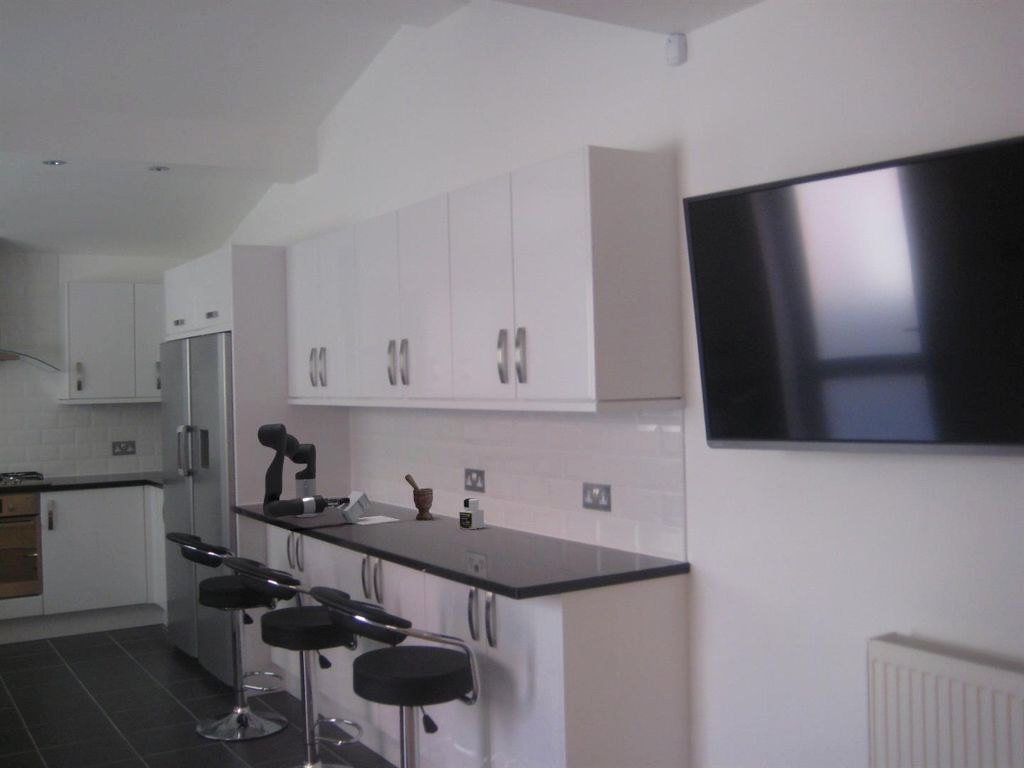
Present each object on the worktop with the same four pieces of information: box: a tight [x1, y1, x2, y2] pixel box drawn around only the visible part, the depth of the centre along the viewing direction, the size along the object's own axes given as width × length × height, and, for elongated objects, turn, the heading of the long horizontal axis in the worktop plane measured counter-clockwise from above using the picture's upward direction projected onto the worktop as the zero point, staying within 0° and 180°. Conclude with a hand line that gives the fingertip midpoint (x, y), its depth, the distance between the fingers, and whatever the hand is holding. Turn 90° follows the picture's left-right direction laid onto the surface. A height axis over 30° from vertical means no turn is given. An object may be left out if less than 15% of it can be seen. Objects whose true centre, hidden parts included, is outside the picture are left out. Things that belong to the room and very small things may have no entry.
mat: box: [352, 515, 402, 527], centre depth 456 cm, size 20×18×1 cm
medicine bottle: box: [458, 497, 485, 530], centre depth 426 cm, size 7×7×12 cm
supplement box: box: [335, 490, 372, 524], centre depth 454 cm, size 7×7×13 cm
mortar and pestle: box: [404, 473, 434, 521], centre depth 457 cm, size 12×9×20 cm
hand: (349, 500), depth 451 cm, fingers closed
